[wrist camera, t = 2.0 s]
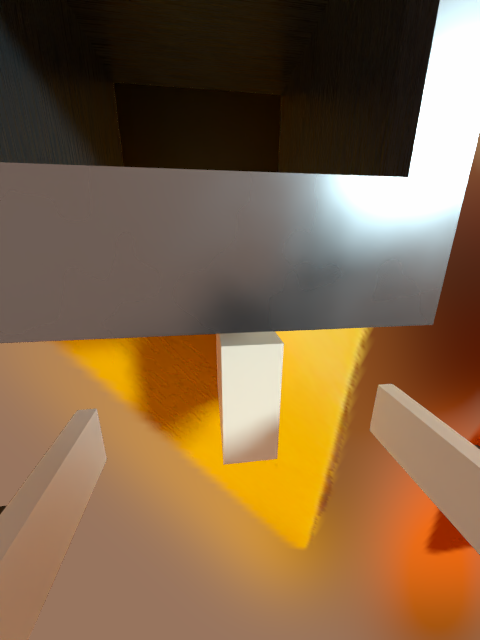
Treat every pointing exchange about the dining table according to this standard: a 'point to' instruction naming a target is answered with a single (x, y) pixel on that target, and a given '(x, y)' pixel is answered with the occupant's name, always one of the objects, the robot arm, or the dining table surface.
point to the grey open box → (233, 186)
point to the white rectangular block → (249, 394)
